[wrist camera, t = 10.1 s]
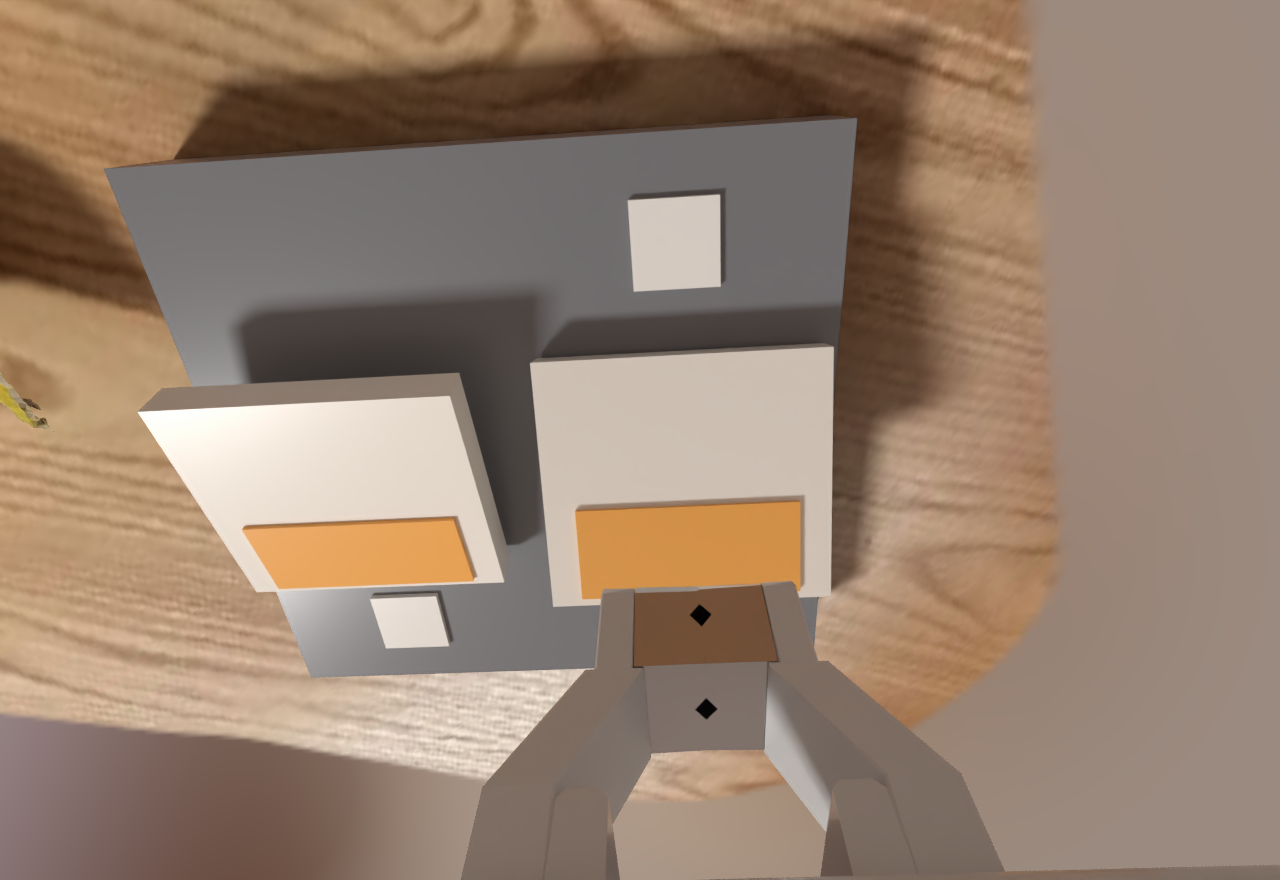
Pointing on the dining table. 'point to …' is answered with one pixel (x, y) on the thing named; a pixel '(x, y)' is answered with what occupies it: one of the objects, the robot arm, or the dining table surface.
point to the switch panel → (490, 311)
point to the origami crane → (20, 405)
